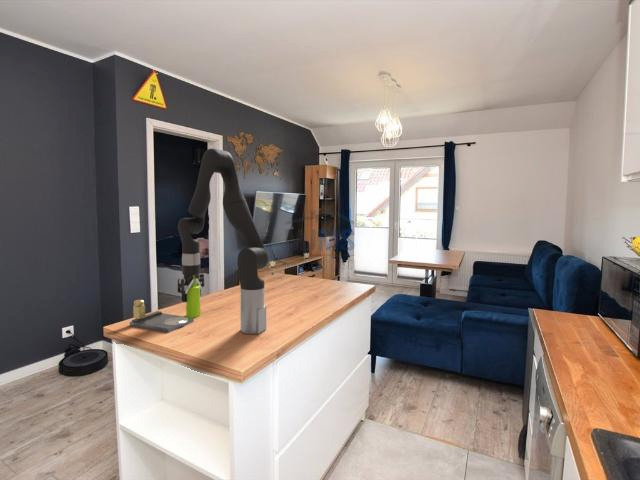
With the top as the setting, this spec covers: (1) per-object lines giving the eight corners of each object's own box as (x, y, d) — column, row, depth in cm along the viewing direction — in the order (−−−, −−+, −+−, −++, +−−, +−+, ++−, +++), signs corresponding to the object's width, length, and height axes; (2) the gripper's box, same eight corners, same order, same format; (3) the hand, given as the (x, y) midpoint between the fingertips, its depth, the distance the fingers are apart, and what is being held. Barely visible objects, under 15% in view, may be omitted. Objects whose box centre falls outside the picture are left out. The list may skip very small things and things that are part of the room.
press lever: (146, 316, 142) (145, 300, 141) (139, 319, 138) (138, 302, 138) (139, 315, 143) (139, 299, 142) (132, 318, 140) (131, 301, 139)
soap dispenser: (183, 314, 154) (183, 270, 152) (200, 313, 157) (199, 269, 155) (183, 318, 149) (182, 273, 147) (200, 317, 151) (199, 272, 149)
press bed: (195, 321, 145) (195, 316, 145) (170, 332, 132) (169, 327, 132) (157, 315, 152) (157, 310, 152) (129, 325, 139) (129, 319, 139)
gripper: (186, 266, 143) (187, 304, 144) (208, 261, 156) (209, 296, 157) (172, 265, 145) (172, 302, 147) (195, 260, 158) (195, 294, 160)
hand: (191, 299), depth 152 cm, fingers open, 8 cm apart
